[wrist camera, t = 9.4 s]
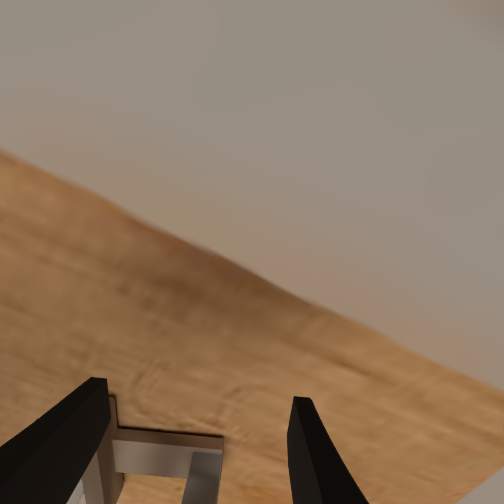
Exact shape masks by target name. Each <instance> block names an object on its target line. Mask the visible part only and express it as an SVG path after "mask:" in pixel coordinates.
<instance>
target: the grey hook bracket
mask: <svg viewBox="0 0 504 504" xmlns="http://www.w3.org/2000/svg"><path fill="white" fill-rule="evenodd" d="M109 402H110V411H111V420H110V422H109V425H108V427H107V429H106V432H105V434H104V436H103V438H102V441H101V443H100V445H99V447H98V449H97V451H96V453H95V455H94V456H93V458H92V460H91V462H90V463H89V465H88V467H87V469H86V471H85V472H84V474H83V476H82V482H83V488H84V493H85V499H86V504H116V503H117V500H118V498H119V496H120V493H121V491H122V488H123V486H124V483H123V474H122V473H132V474H142V475H153V476H163V477H174V478H184V479H187V482H186V486H185V491H184V495H183V499H182V504H217V501H218V493H219V486H220V479H221V471H222V459H223V445H224V438H214V437H204V436H193V435H183V434H172V433H161V432H151V431H140V430H130V429H119V428H118V427H117V418H116V408H115V399H114V397H109Z"/></svg>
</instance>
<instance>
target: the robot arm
mask: <svg viewBox="0 0 504 504" xmlns="http://www.w3.org/2000/svg"><path fill="white" fill-rule="evenodd" d="M110 420H111V411H110V402H109V394H108V385H107V379H105V378H95V377H91V378H89V379H88V380H87V381H86V382H84V383H83V384H82V385H80V386H79V387H78V388H77V389H75V390H74V391H73V392H72V393H70V394H69V395H68V396H67V397H65V398H64V399H63V400H62V401H60V402H59V403H58V404H56V405H55V406H54V407H53V408H51V409H50V410H49V411H48V412H46V413H45V414H44V415H42V416H41V417H40V418H38V419H37V420H36V421H35V422H33V423H32V424H31V425H29V426H28V427H27V428H25V429H24V430H23V431H21V432H20V433H19V434H17V435H16V436H15V437H13V438H12V439H10V440H9V441H8V442H6V443H5V444H3V445H2V446H1V447H0V504H67V502H68V500H69V499H70V497H71V495H72V493H73V492H74V490H75V488H76V486H77V485H78V483H79V481H80V479H81V478H82V476H83V474H84V472H85V471H86V469H87V467H88V465H89V463H90V462H91V460H92V458H93V456H94V455H95V453H96V451H97V449H98V447H99V445H100V443H101V441H102V438H103V436H104V434H105V432H106V429H107V427H108V425H109V422H110ZM287 448H288V467H289V475H290V483H291V490H292V498H293V504H369V503H368V501H367V500H366V498H365V497H364V495H363V494H362V492H361V490H360V489H359V487H358V486H357V484H356V482H355V481H354V479H353V478H352V476H351V474H350V473H349V471H348V469H347V468H346V466H345V464H344V462H343V461H342V459H341V457H340V455H339V453H338V452H337V450H336V448H335V446H334V444H333V443H332V441H331V439H330V437H329V435H328V433H327V431H326V429H325V427H324V425H323V423H322V421H321V419H320V417H319V415H318V413H317V410H316V408H315V406H314V404H313V401H312V400H311V399H310V398H307V397H297V396H294V398H293V404H292V410H291V415H290V421H289V426H288V432H287Z"/></svg>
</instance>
